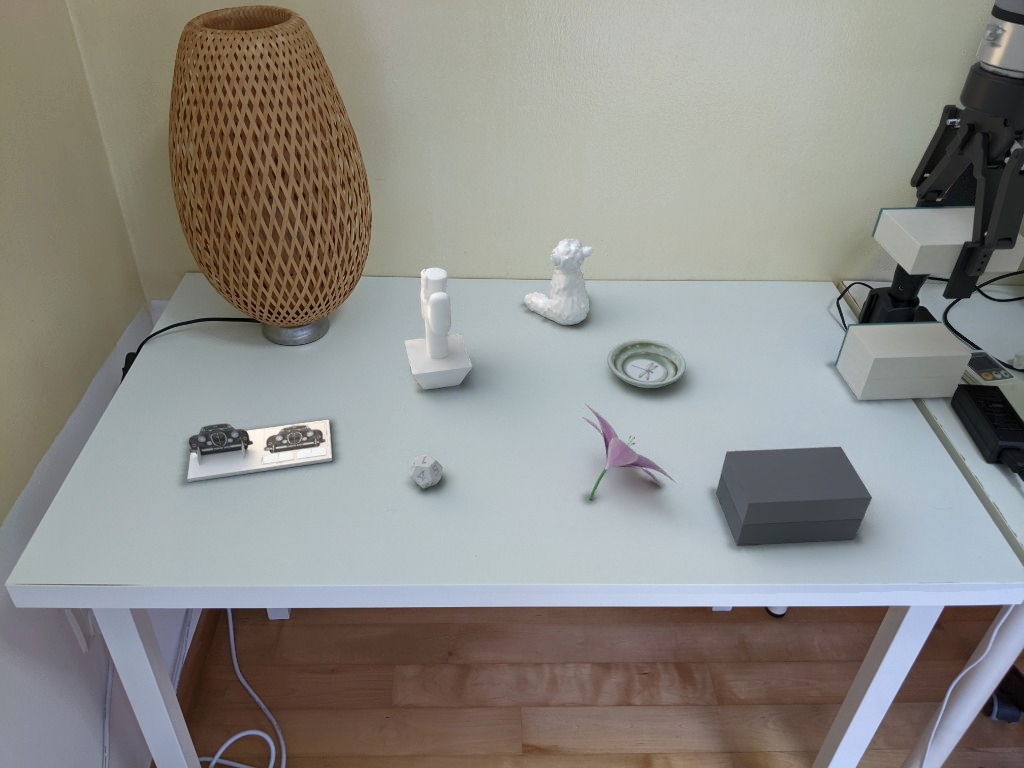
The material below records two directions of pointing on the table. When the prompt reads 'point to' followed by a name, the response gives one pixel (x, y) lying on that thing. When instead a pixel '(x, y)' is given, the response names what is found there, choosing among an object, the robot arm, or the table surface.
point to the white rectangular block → (901, 360)
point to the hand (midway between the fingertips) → (933, 274)
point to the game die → (425, 470)
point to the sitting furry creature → (564, 286)
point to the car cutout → (256, 449)
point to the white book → (935, 239)
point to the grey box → (791, 495)
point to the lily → (621, 452)
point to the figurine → (437, 338)
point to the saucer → (646, 363)
